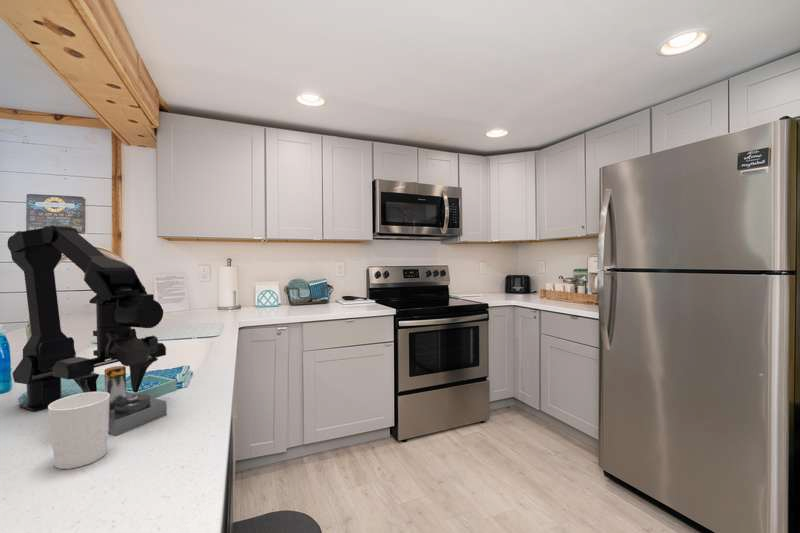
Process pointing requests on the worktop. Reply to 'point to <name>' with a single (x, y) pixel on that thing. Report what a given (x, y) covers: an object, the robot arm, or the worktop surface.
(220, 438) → the worktop surface
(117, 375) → the grey orange-capped bottle
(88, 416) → the white cup
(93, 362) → the robot arm
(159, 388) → the tray
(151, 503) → the worktop surface
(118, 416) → the tensioner block
